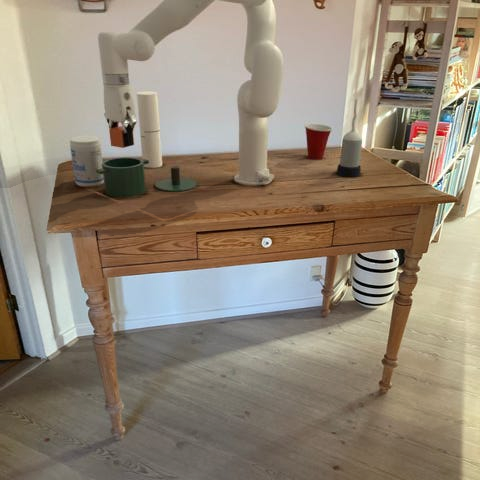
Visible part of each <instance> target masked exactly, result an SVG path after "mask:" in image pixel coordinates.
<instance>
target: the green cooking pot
mask: <svg viewBox="0 0 480 480" xmlns="http://www.w3.org/2000/svg"><path fill="white" fill-rule="evenodd" d="M102 162H103V163H102V168H101V169H97V170H96V173H98V174H103V178H104V183H103V185H104V192H105V194H106V196H107V197H110V198H112V199H114V197H115V198H129V197H137V196H140V195H142V194H145V193H146V190H147V185H146V175H145V167H144V164H148V163H149V160H146V159H141V158H137V157H129V156H128V157H127V156H125V157H113V158H108V159H106V160H103V161H102Z"/></svg>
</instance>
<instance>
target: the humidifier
mask: <svg viewBox="0 0 480 480" xmlns="http://www.w3.org/2000/svg"><path fill="white" fill-rule="evenodd" d="M360 101H361V102H360V104H363V103H362V102H363V100H360ZM357 108H358V98H354V104H353V117H352V121H351V130H350V131H348V132H346V133H345V134H344V135H343V137H342V140H341V150H340V158H339V159H340V160H339V164H338V165H337V169H336V175H338V176H340V177H343V178H356V177H360V176H361V169H362V167H361V165H360V163H361V162H360V161H361V155H362V147H363V137H362V135H361V134H360V133H359V132H358V131H357V130H359V128H360V125H358V127H357V130H356V119H357V117H358V115H357ZM361 109H362V108H360V110H359V112H361V111H362V110H361ZM360 121H361V116H359V121H358V122H360Z"/></svg>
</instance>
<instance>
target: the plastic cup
mask: <svg viewBox="0 0 480 480" xmlns="http://www.w3.org/2000/svg"><path fill="white" fill-rule="evenodd" d="M304 128H305V135H306V149H307V157H308V159H309V160H310V159H311V160H322V159H323V158H324V156H325V151H326V148H327V144H328V140H329V137H330V134H331V132H332V131H333V130H334V128H333V127H332V126H329V125H325V124H320V123H319V124H318V123H306V124H305V125H304Z"/></svg>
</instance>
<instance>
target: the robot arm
mask: <svg viewBox="0 0 480 480" xmlns="http://www.w3.org/2000/svg"><path fill="white" fill-rule="evenodd" d="M215 1H216V0H162V1H161V2H160V3H159V4H158V5H157V6H156V7H155V8H154V9H153V10H151V11H150V12H149V13H148V14H147V15H146V16H145V17H143V19H141V20H140V21H139V22H138V23H136V25H135V26H134V27H132V28H131V29H130V30H129V31H128V32H122V31H115V30H114V31H112V30H111V31H101V32H99V33H98V36H97V42H98V51H99V61H100V69H101V78H102V86H103V107H104V113H103V115H104V118H105V119H106V123H107V124H108V130H109V129H111V128H115V127H119V126H120V125H119V124H121V126H122V127H123V131H124V133H123V142H124V146H125V148H128V147H132V146H134V145H135V142H134V143H133V137H134V131H135V130H134V129H135V126H136V124H137V113H136V105H135V98H134V95H133V90H132V87H131V85H130V74H129V64H128V62H129V61H134V62H135V61H136V62H146V61H148V60H150V59H151V58H152V57H153V55H154V53H155V49H156V46H157V45H158V44H160V43H161V42H162V41H163V40H164V39H166V38H167V37H168V36H169V35H171V34H172V33H175V32H177V31H179V30H182V29H184V28H185V27H187V26H188V25H190V23H191V22H193V20H195V19H196V18H197V17H198V16H199V15H200V14H201V13H203V11H205V10H206V9H207V8H208V7H209V6H210V5H211V4H212V3H214V2H215ZM219 1H220V2H221V1H222V2H227V3H232V4H233V3H234V4H241V6H242V7H243V9H244V11H245V14H246V21H247V25H246V38H245V48H244V55H243V64H244V67H245V69H246V71H247V72H249V73H250V74H251V75H250V76H251V77H250V79H249V80H246V81H245V82H243V83H242V84H241V85H240V87H239V89H238V92H237V97H236V98H237V99H236V102H237V103H236V104H237V113H238V174H236V175H234V177H233V181H234V182H236V184H237V183H238V184H241V185H245V186H261V185H268V184H270V183H271V182H272V181H273V180H274V178H275V175H274V174H272V173H270V168H268V145H269V144H268V143H269V142H268V141H269V117H270V116H272V115H273V114H274V113H275V112H276V110H277V108H278V106H279V103H280V97H281V89H282V82H283V76H284V75H283V74H284V65H285V63H284V56H283V53H282V51H281V49H280V48H279V47H278V46H277V45H276V44H275V42H276V41H275V39H276V27H277V13H276V7H275V4H274V1H273V0H219ZM127 146H128V147H127Z"/></svg>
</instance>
